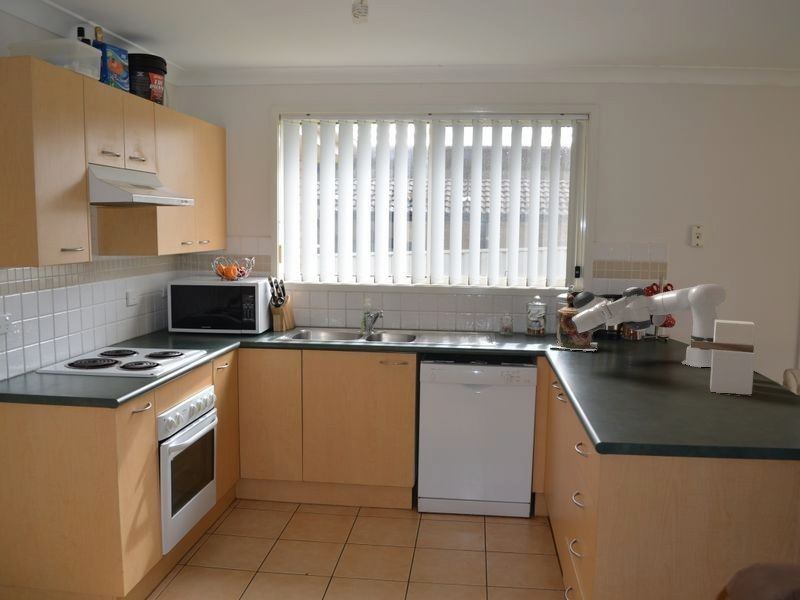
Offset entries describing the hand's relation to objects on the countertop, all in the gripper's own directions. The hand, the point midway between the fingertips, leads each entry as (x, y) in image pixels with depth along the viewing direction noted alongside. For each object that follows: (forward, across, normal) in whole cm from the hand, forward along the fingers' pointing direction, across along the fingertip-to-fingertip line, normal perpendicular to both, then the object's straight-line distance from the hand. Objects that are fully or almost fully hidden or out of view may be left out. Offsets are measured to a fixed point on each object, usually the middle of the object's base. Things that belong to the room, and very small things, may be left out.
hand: (636, 296), depth 281 cm
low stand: (+15, +16, -48) cm, 53 cm away
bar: (+20, +16, -32) cm, 41 cm away
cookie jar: (-47, -62, -13) cm, 79 cm away
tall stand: (+16, 0, -49) cm, 52 cm away
